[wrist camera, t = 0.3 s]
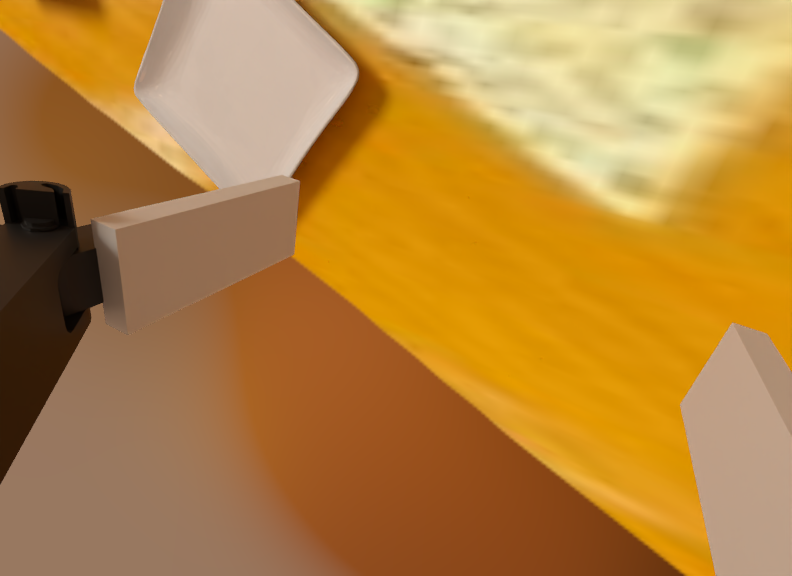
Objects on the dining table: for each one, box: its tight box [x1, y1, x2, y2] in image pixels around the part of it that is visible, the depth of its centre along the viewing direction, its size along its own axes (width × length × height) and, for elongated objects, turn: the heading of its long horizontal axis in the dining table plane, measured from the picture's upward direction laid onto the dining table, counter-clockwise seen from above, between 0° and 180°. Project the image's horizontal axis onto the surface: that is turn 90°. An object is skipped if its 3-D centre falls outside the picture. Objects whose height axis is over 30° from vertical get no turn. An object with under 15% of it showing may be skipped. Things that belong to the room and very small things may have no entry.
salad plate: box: [134, 0, 359, 189], centre depth 45 cm, size 21×21×3 cm
